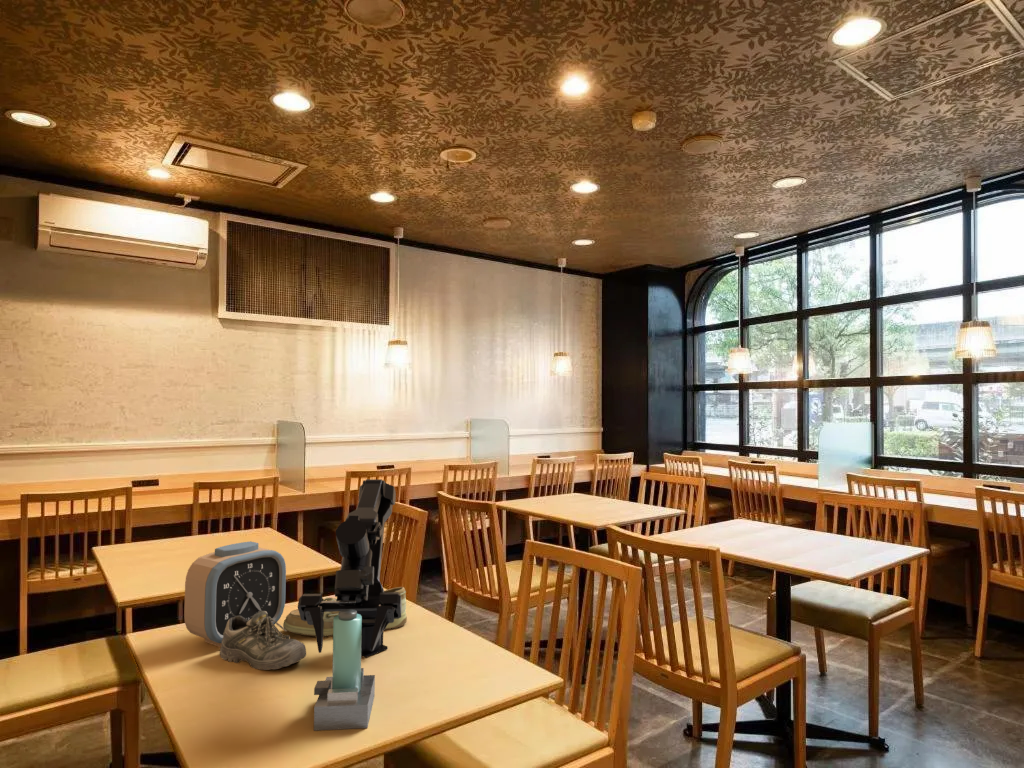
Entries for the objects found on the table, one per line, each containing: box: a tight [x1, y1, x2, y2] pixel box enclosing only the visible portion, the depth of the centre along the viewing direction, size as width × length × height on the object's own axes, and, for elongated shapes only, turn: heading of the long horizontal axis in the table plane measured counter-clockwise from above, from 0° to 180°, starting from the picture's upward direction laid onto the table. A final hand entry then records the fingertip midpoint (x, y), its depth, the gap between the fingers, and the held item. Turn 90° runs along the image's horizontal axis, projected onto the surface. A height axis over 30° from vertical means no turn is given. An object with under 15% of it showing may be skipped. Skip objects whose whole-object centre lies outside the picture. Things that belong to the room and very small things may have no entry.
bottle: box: [331, 609, 362, 692], centre depth 116 cm, size 5×5×14 cm
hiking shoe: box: [219, 611, 307, 671], centre depth 139 cm, size 9×21×12 cm
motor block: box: [313, 667, 376, 731], centre depth 115 cm, size 12×10×6 cm
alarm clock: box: [183, 541, 287, 648], centre depth 151 cm, size 21×10×22 cm, turn 148°
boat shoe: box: [282, 586, 408, 638], centre depth 159 cm, size 11×30×9 cm, turn 110°
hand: (345, 650), depth 114 cm, fingers open, 9 cm apart
